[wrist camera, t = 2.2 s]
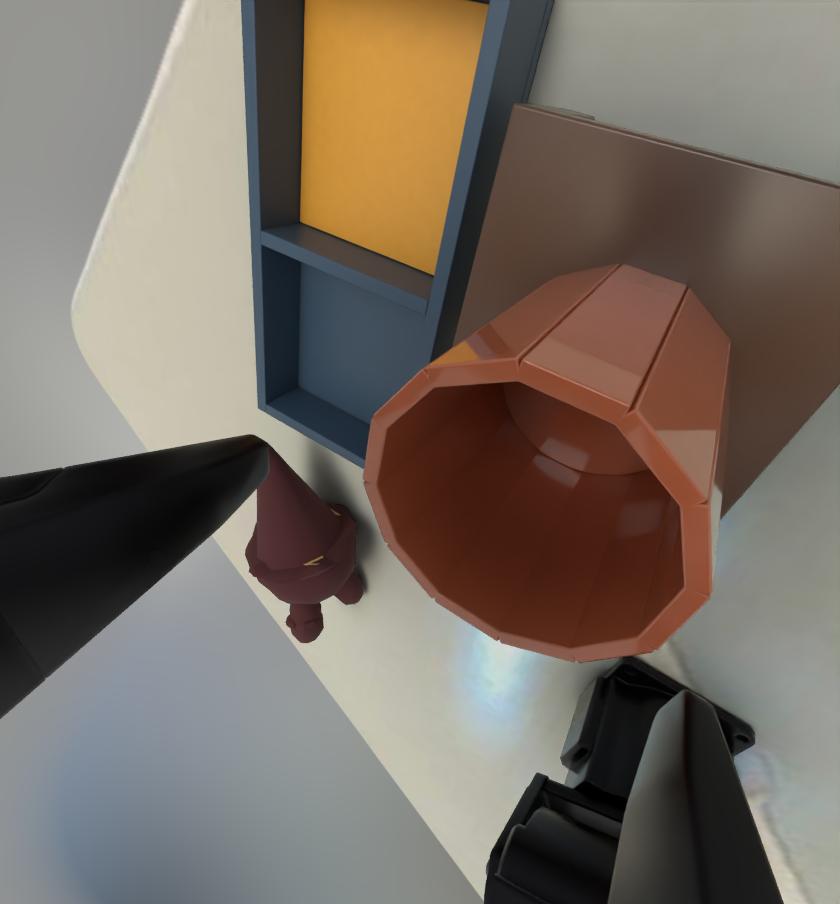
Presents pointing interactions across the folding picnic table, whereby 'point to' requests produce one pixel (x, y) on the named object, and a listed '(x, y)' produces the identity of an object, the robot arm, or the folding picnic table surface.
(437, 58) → the blue divided tray
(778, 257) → the brown low table
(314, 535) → the maroon cone-shaped figurine
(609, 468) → the cup
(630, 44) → the folding picnic table surface
